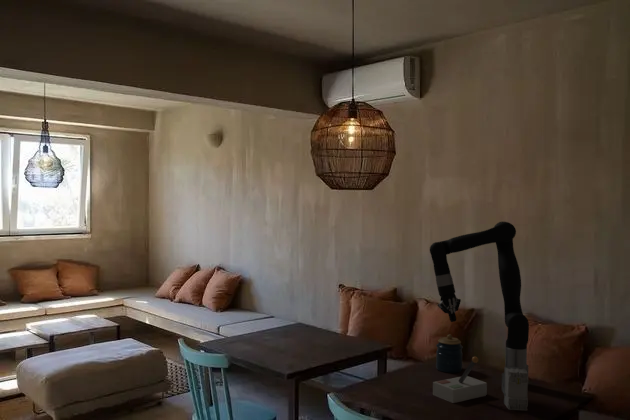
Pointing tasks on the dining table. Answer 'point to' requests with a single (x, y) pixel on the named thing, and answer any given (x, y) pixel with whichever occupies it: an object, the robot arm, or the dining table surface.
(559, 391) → the dining table surface
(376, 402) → the dining table surface
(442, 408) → the dining table surface
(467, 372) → the breaker lever
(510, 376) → the circuit breaker
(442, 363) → the canister
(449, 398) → the box
